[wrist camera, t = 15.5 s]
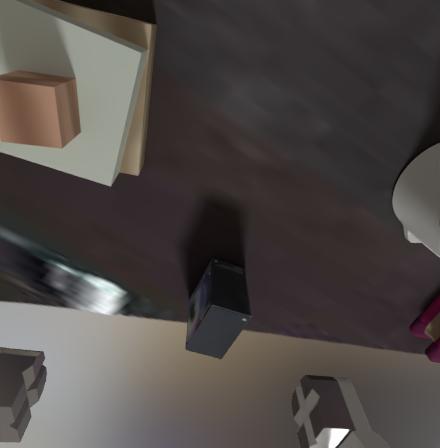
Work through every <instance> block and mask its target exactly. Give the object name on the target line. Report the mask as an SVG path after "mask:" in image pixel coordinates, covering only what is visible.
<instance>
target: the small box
mask: <svg viewBox="0 0 440 448" xmlns="http://www.w3.org/2000/svg"><path fill="white" fill-rule="evenodd" d="M250 319H251V311H250V304H249V296H248V289H247V282H246V272H245V268H243V267H240V266H236V265H233V264H230V263H228V262H225V261H222V260H219V259H215V258H212V259H211V261H210V263H209V264H208V266H207V268H206V270H205V272H204V273H203V275H202V277H201V279H200V281H199V283H198V284H197V286H196V288H195V290H194V292H193V293H192V295H191V297H190V299H189V311H188V324H187V337H186V338H187V339H186V350H189V351H192V352H196V353H200V354H204V355H208V356H212V357H215V358H219V359H222V358H223V356H224V355H225V354H226V352H227V351H228V349H229V348H230V347H231V345H232V344H233V342H234V341H235V340H236V338H237V337H238V335H239V334H240V333H241V331H242V330H243V328H244V327H245V326H246V324H247V323H248V321H249V320H250Z"/></svg>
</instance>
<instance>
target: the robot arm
mask: <svg viewBox="0 0 440 448" xmlns="http://www.w3.org/2000/svg"><path fill="white" fill-rule="evenodd" d="M392 203H393V209H394V212H395V214H396V216H397V217H398V219H399V220H400V221H401V222H402V224H403V226H404V235H405V238H406V239H407V240H409V241H410V242H412V243H423V244H424V245H425V246H426V247H427V248H429V249H430V250H431V251H432V252H434V253H435V254H436V255H437V256H438V257H440V143H438V144H436V145H434V146H432V147H430V148H428V149H427V150H425V151H424V152H422V153H421V154H420V155H419V156H417V157H416V158H415V159H414V160H413V161H412V162H411V163H410V164H409V165H408V166H407V167H406V169H405V170H404V171H403V173H402V174H401V176H400V177H399V179H398V181H397V183H396V186H395V189H394V192H393V199H392ZM44 360H45V356H44V352H42V351H31V350H20V349H10V348H2V347H0V442H20V441H21V439H22V437H23V435H24V432H25V430H26V428H27V426H28V423H29V421H30V419H31V412H30V407H32V406H33V405H34V404H35V403H37V402H38V401H39V399H40V396H41V394H42V391H43V389H44V385H45V382H46V375H47V371H46V367H45V366H43V365H42V364H43V362H44ZM300 383H301V386H299V387H297V388H295V390H294V392H293V394H292V402H291V404H292V413H293V417H294V419H295V420H296V422H297V423H298V424H299V426H300V427H299V430H298V432H297V435H298V439H299V444H300V448H391V447H390V446H389V445H388V444H387V443H386V442H385V441H384V440H383V439H382V438H381V437H380V436H379V434H378V433H377V432H372V430H371V428H370V425H369V423H368V420H367V418H366V416H365V413H364V411H363V408H362V406H361V404H360V401H359V399H358V397H357V394H356V392H355V389H354V387H353V385H352V382H351V381H350V380H349V379H346V378H335V377H327V376H313V375H304V376H302V378H301V380H300Z"/></svg>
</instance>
